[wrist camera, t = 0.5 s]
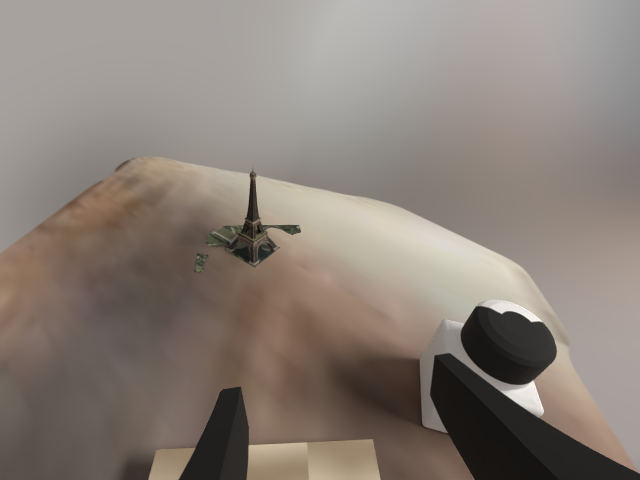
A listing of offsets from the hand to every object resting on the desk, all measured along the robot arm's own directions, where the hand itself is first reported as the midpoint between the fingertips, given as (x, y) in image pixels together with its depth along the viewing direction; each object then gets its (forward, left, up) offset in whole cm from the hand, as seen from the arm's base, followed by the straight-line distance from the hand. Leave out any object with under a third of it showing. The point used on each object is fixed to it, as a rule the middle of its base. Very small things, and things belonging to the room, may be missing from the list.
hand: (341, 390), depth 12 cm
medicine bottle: (+8, -16, -19) cm, 26 cm away
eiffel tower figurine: (+30, +5, -19) cm, 36 cm away
